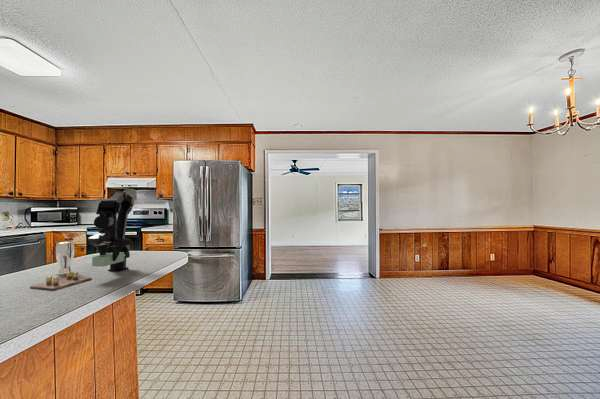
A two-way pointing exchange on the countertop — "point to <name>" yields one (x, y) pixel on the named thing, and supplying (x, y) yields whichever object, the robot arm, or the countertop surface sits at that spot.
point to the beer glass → (64, 257)
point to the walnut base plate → (61, 282)
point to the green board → (106, 259)
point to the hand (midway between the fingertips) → (108, 260)
